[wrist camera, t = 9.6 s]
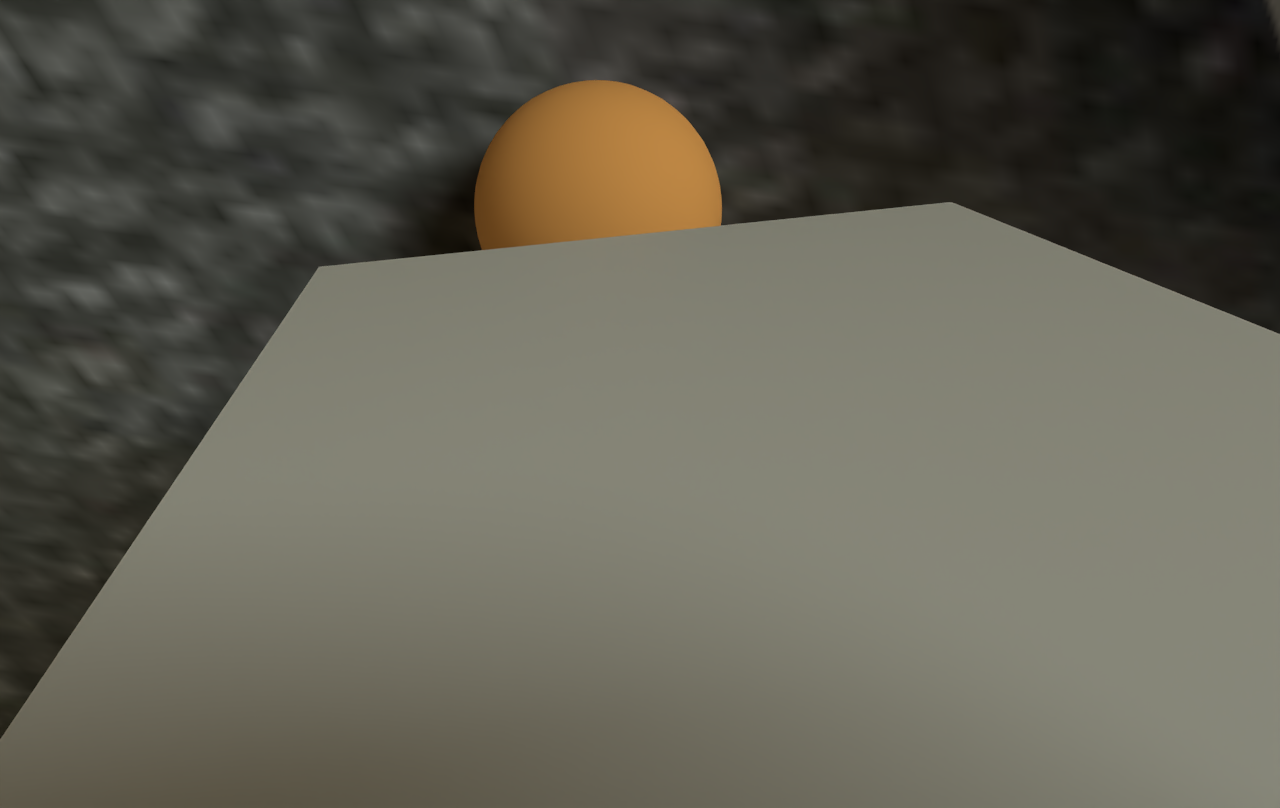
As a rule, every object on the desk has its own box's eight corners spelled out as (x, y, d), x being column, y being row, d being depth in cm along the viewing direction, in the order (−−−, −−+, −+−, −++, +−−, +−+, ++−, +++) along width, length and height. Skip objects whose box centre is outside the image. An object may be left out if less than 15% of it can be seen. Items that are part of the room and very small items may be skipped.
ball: (766, 182, 14) (702, 18, 17) (463, 211, 13) (450, 37, 16) (732, 367, 18) (686, 211, 21) (498, 396, 18) (483, 231, 20)
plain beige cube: (907, 673, 14) (1458, 1538, 6) (431, 754, 13) (344, 1905, 5) (951, 202, 11) (2299, 747, 3) (318, 266, 10) (-428, 1371, 2)
